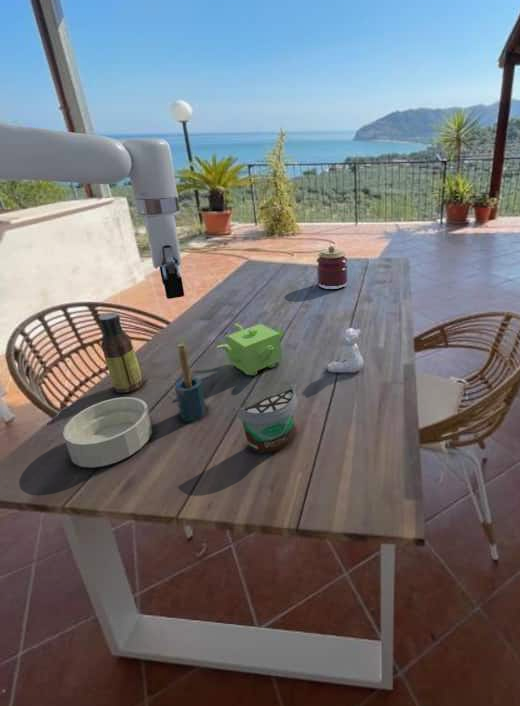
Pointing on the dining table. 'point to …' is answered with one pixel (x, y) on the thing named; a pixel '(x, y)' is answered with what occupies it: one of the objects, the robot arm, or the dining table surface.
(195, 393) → the crock
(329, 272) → the kitchen canister
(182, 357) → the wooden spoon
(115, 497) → the dining table surface
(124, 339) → the sauce bottle
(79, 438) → the bowl
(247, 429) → the food container
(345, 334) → the sitting furry creature
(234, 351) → the kettle
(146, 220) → the robot arm
